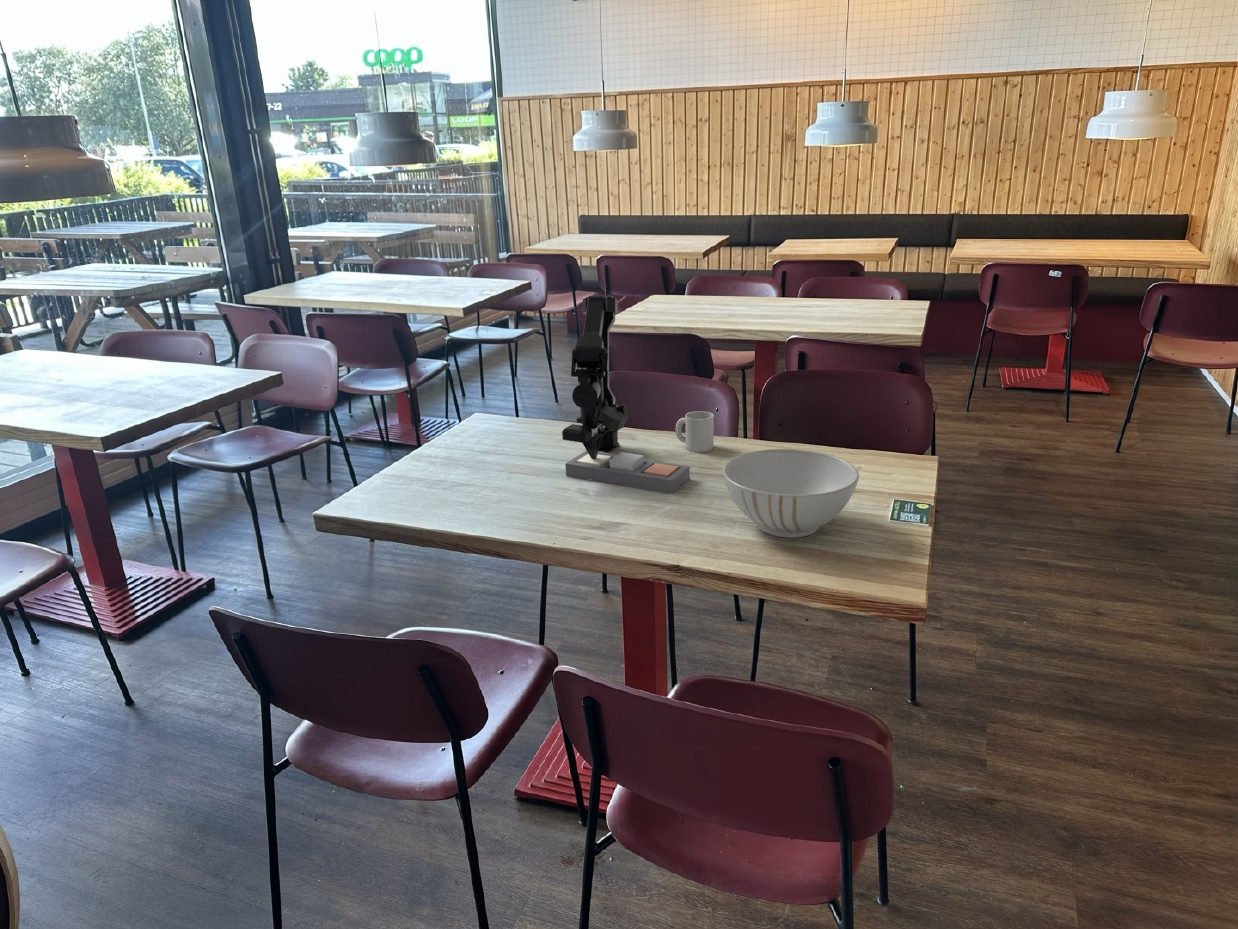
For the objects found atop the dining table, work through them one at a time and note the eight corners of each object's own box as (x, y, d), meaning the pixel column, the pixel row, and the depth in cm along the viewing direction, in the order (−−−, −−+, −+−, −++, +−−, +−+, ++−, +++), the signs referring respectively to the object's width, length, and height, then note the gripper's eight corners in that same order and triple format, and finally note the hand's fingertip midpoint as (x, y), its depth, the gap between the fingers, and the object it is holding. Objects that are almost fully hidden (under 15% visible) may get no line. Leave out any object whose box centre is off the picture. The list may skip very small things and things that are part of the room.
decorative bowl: (755, 563, 164) (756, 503, 160) (702, 510, 188) (702, 457, 184) (881, 542, 171) (886, 484, 167) (815, 493, 195) (817, 442, 191)
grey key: (609, 469, 206) (609, 459, 205) (621, 461, 211) (621, 452, 210) (632, 473, 203) (632, 463, 202) (643, 464, 208) (643, 455, 207)
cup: (709, 453, 222) (709, 420, 219) (671, 450, 225) (671, 417, 222) (716, 445, 228) (716, 412, 225) (679, 441, 231) (679, 409, 228)
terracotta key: (644, 481, 202) (643, 471, 202) (655, 472, 207) (655, 463, 206) (667, 484, 200) (667, 475, 199) (678, 476, 205) (678, 466, 204)
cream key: (577, 470, 211) (576, 460, 210) (589, 462, 215) (589, 453, 215) (598, 473, 208) (598, 464, 207) (611, 465, 213) (610, 456, 212)
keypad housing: (566, 475, 210) (565, 463, 209) (586, 462, 218) (586, 450, 217) (671, 493, 197) (671, 480, 196) (689, 478, 206) (689, 466, 205)
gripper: (601, 410, 194) (604, 476, 200) (639, 389, 209) (641, 451, 215) (559, 405, 199) (562, 469, 205) (599, 385, 215) (601, 445, 220)
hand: (593, 458), depth 211 cm, fingers closed, pressing on cream key
